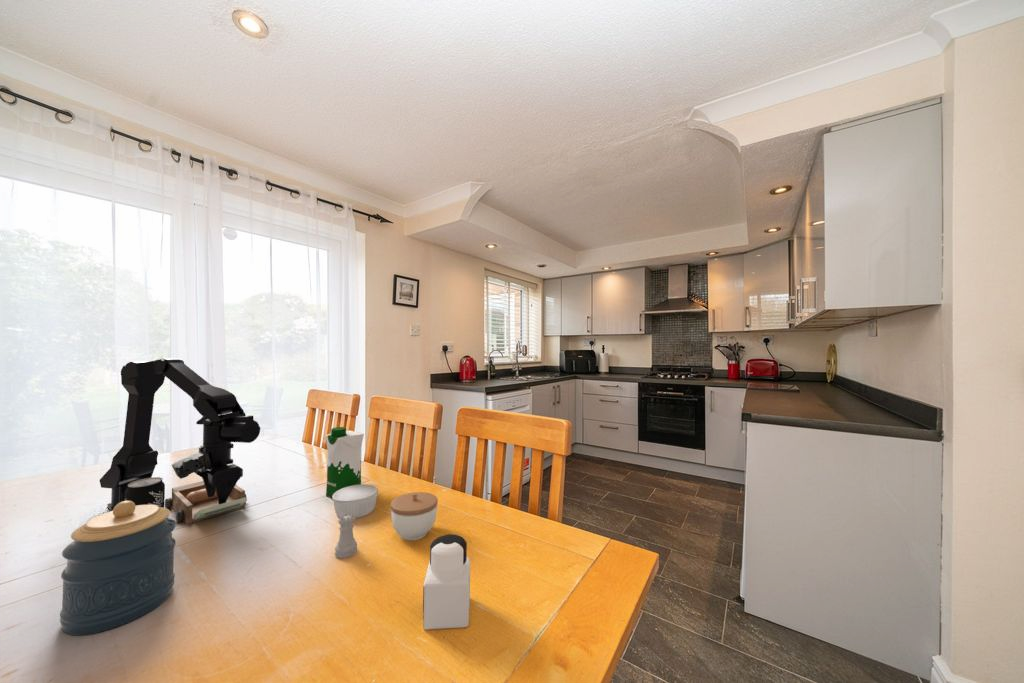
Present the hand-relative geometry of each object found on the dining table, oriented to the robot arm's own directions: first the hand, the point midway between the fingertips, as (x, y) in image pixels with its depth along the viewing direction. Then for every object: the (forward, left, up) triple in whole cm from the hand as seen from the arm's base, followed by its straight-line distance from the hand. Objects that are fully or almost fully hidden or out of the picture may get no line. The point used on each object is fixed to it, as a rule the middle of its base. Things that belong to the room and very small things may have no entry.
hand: (216, 500), depth 94 cm
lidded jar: (+49, +25, -4) cm, 55 cm away
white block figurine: (+74, +12, -4) cm, 75 cm away
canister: (+29, -20, -4) cm, 36 cm away
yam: (-10, 0, -2) cm, 10 cm away
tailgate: (+1, 0, -2) cm, 3 cm away
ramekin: (+27, +23, -4) cm, 36 cm away
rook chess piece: (+44, +11, -4) cm, 46 cm away
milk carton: (+14, +27, -4) cm, 31 cm away
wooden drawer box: (-8, 0, -3) cm, 8 cm away
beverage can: (-1, -13, -4) cm, 14 cm away
